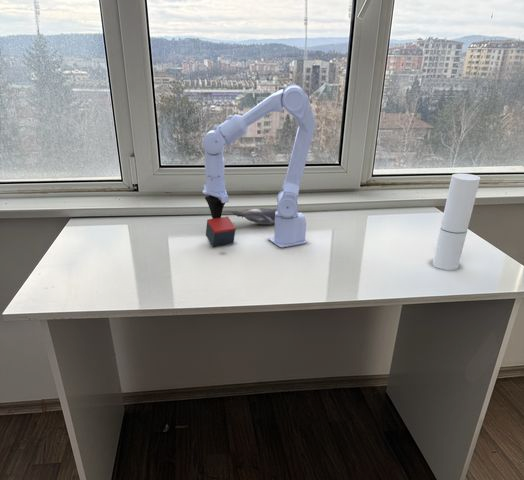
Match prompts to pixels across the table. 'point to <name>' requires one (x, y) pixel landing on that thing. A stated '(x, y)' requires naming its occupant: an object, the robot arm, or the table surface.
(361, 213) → the table surface
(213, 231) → the two-tone lidded box
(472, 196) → the cylindrical container
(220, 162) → the robot arm
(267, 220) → the decorative bird
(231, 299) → the table surface
